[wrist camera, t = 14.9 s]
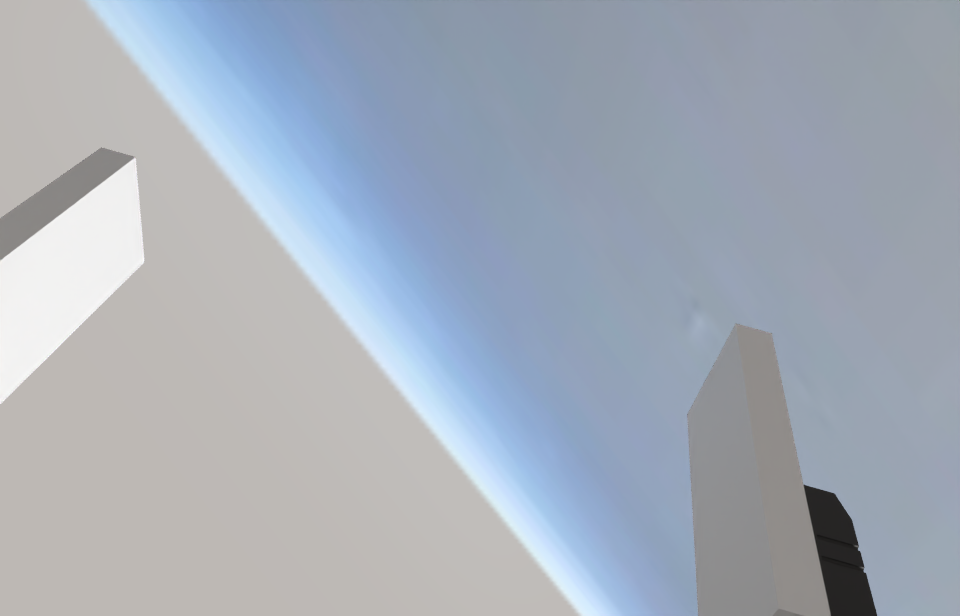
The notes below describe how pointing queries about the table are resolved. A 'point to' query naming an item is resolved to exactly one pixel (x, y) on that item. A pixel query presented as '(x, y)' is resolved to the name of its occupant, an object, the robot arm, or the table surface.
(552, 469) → the table surface
